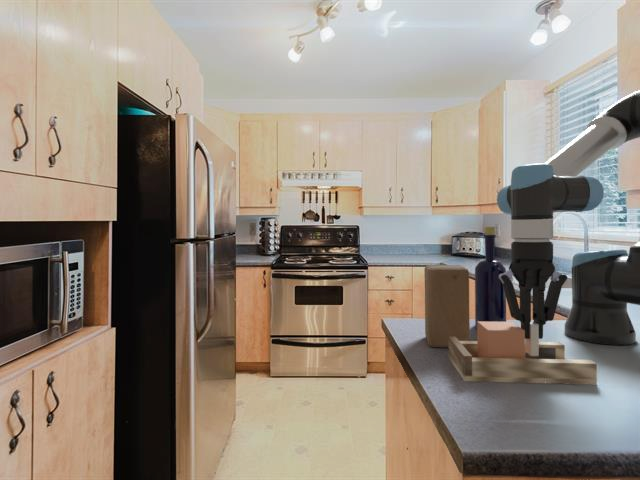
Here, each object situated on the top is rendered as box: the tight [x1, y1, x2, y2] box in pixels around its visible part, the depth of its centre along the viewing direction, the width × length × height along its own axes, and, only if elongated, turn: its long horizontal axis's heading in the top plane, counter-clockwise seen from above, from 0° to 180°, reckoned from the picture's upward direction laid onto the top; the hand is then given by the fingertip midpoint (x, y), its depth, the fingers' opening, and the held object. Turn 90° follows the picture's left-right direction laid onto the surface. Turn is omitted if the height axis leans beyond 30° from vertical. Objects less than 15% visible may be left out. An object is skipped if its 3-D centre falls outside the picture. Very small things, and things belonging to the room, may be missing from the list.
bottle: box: [474, 226, 507, 329], centre depth 108 cm, size 9×9×30 cm
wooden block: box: [423, 264, 471, 349], centre depth 96 cm, size 10×10×20 cm
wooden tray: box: [448, 336, 598, 386], centre depth 77 cm, size 24×13×5 cm, turn 83°
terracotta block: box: [476, 321, 525, 359], centre depth 77 cm, size 7×7×8 cm
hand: (531, 353), depth 76 cm, fingers closed
